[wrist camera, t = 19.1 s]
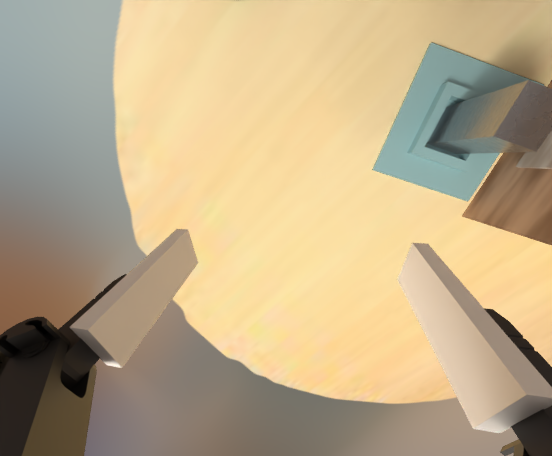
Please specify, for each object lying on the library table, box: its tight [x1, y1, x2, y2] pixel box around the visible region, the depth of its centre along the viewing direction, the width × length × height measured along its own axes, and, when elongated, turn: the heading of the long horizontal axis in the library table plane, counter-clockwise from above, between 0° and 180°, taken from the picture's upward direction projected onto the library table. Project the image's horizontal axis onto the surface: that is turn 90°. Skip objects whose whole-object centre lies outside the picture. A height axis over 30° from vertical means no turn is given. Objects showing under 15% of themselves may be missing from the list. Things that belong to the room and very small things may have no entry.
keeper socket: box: [372, 43, 544, 201], centre depth 34 cm, size 20×20×2 cm
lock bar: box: [427, 80, 552, 154], centre depth 29 cm, size 6×6×12 cm
